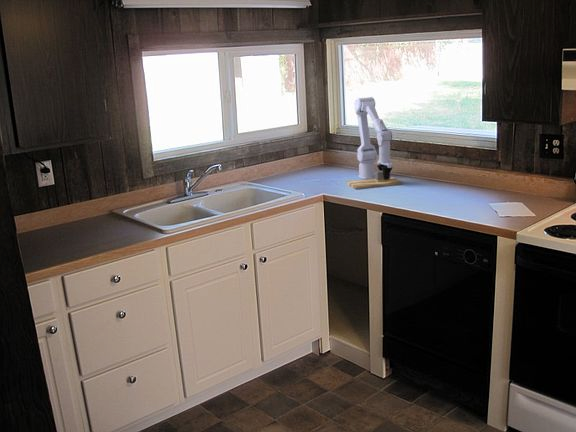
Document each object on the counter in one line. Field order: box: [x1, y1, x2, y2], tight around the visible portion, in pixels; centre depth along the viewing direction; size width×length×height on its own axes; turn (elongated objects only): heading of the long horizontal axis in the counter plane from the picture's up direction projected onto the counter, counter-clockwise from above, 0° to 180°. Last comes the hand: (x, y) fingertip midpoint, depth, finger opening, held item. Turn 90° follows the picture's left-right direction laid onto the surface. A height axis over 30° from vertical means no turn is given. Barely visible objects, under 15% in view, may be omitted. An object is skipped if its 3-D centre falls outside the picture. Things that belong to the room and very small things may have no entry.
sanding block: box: [374, 170, 391, 182], centre depth 333 cm, size 4×7×5 cm, turn 104°
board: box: [346, 176, 403, 190], centre depth 333 cm, size 14×26×2 cm, turn 104°
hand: (384, 178), depth 334 cm, fingers closed on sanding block, 4 cm apart
